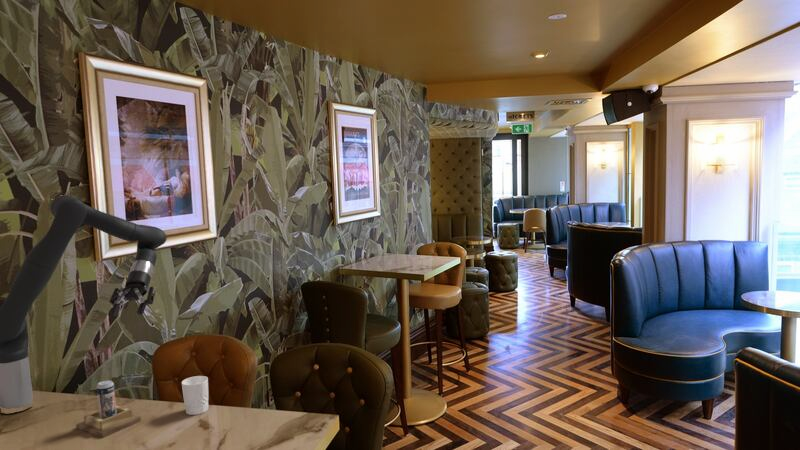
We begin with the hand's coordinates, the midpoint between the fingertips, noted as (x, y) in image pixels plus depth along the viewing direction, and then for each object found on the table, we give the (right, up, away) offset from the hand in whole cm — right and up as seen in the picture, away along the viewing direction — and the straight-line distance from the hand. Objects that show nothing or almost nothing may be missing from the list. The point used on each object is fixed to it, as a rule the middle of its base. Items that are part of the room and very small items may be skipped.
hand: (126, 314), depth 188 cm
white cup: (+29, -29, -12) cm, 43 cm away
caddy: (+4, -30, -20) cm, 37 cm away
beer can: (+4, -29, -20) cm, 36 cm away
